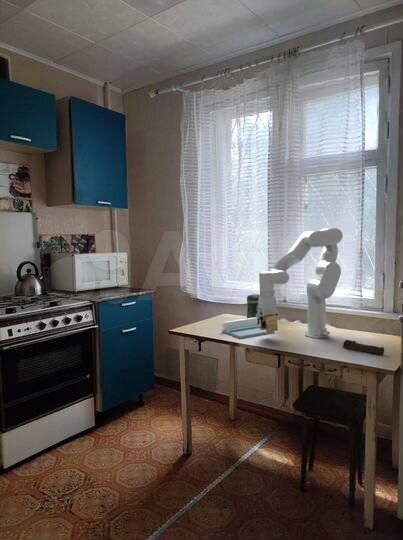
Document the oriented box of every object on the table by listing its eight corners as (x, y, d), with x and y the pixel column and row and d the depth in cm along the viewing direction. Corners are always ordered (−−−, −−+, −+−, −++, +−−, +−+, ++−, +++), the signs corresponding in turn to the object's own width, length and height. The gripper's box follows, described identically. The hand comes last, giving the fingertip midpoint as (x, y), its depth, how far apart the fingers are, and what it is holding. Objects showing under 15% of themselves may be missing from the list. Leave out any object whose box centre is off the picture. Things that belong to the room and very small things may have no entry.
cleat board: (274, 332, 223) (274, 322, 223) (240, 338, 211) (239, 328, 211) (255, 326, 239) (255, 317, 238) (222, 332, 227) (222, 322, 227)
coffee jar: (254, 325, 243) (253, 296, 242) (244, 323, 249) (244, 294, 248) (264, 322, 250) (263, 294, 248) (254, 320, 256) (254, 293, 254)
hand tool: (384, 354, 180) (385, 345, 180) (381, 356, 178) (382, 346, 177) (345, 347, 194) (345, 338, 193) (341, 349, 191) (342, 339, 190)
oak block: (277, 330, 208) (277, 315, 207) (268, 332, 205) (268, 317, 204) (268, 327, 215) (267, 313, 214) (259, 329, 212) (259, 315, 211)
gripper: (274, 291, 216) (276, 323, 217) (249, 295, 207) (251, 328, 209) (284, 293, 209) (285, 325, 211) (258, 297, 201) (260, 331, 203)
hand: (268, 326), depth 210 cm, fingers closed on oak block, 6 cm apart
